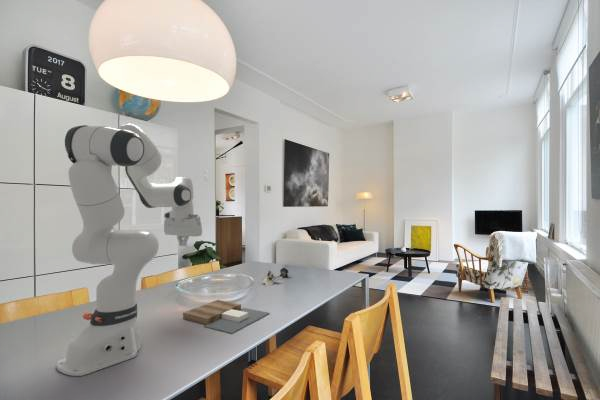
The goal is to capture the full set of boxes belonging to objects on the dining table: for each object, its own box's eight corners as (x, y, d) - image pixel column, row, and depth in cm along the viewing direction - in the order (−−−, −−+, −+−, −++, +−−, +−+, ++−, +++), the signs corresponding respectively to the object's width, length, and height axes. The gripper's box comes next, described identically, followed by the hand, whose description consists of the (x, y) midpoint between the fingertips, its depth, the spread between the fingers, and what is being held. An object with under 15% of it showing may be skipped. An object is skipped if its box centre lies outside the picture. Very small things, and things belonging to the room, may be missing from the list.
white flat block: (238, 322, 125) (238, 317, 125) (221, 318, 130) (221, 313, 130) (248, 317, 131) (248, 312, 131) (231, 313, 135) (231, 309, 135)
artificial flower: (291, 280, 201) (293, 266, 198) (267, 292, 183) (269, 277, 180) (280, 275, 206) (282, 261, 203) (256, 286, 188) (258, 271, 185)
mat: (231, 334, 115) (231, 332, 115) (204, 326, 122) (204, 325, 122) (269, 313, 136) (269, 312, 136) (243, 308, 143) (243, 307, 143)
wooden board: (207, 325, 123) (207, 318, 124) (183, 318, 130) (183, 312, 130) (241, 309, 141) (241, 304, 141) (217, 305, 148) (217, 299, 148)
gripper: (205, 214, 136) (205, 246, 136) (173, 213, 146) (173, 243, 146) (194, 214, 130) (194, 248, 130) (161, 214, 140) (161, 245, 140)
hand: (182, 245), depth 138 cm, fingers closed
